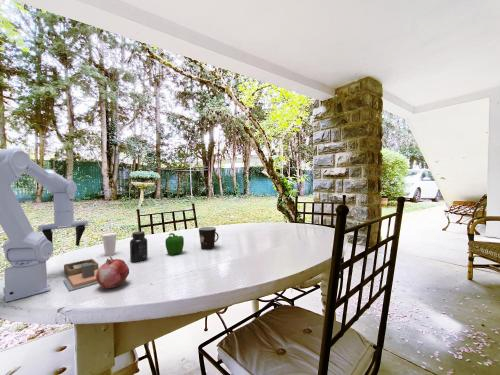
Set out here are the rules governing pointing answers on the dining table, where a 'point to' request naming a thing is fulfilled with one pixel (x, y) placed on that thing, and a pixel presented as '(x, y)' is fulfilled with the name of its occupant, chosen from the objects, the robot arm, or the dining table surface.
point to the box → (77, 267)
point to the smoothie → (109, 243)
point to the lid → (84, 276)
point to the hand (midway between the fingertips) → (65, 247)
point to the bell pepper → (174, 244)
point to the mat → (76, 287)
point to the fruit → (112, 273)
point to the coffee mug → (207, 237)
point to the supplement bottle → (138, 247)
